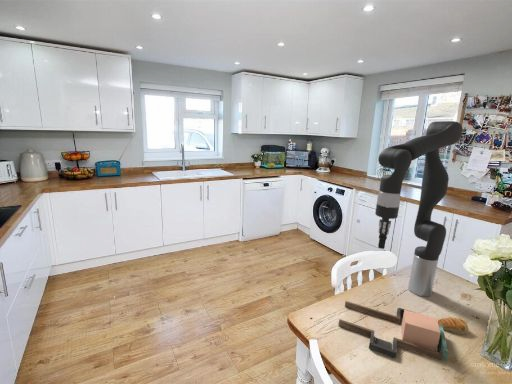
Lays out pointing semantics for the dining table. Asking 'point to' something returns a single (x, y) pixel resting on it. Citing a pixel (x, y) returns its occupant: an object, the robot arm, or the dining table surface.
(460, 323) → the pastry
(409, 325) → the block
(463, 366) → the dining table surface
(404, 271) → the dining table surface
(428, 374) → the dining table surface
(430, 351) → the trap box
